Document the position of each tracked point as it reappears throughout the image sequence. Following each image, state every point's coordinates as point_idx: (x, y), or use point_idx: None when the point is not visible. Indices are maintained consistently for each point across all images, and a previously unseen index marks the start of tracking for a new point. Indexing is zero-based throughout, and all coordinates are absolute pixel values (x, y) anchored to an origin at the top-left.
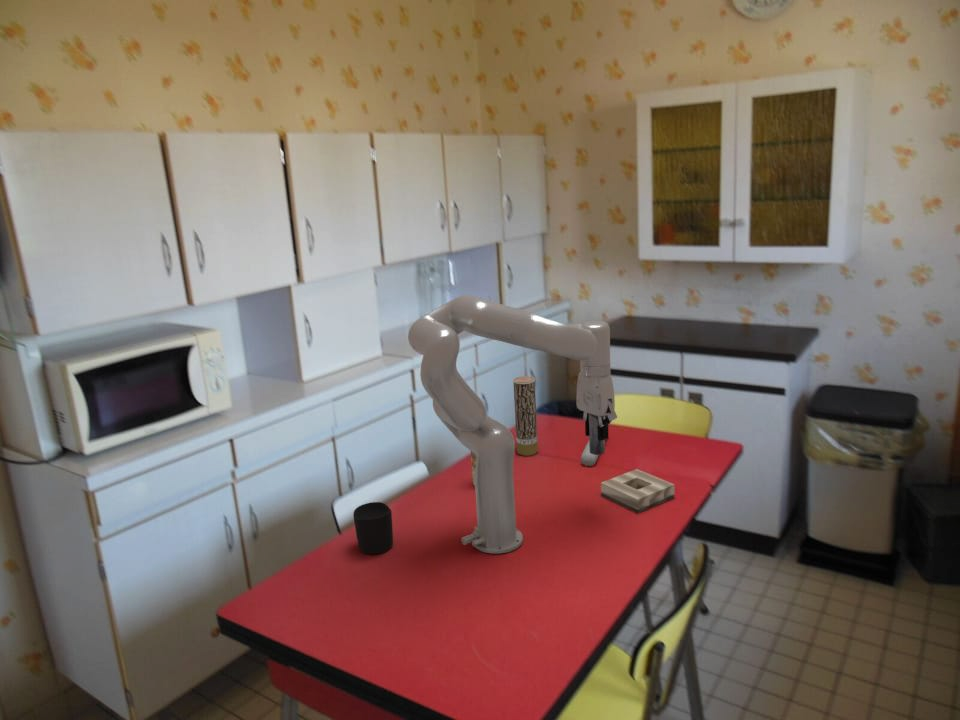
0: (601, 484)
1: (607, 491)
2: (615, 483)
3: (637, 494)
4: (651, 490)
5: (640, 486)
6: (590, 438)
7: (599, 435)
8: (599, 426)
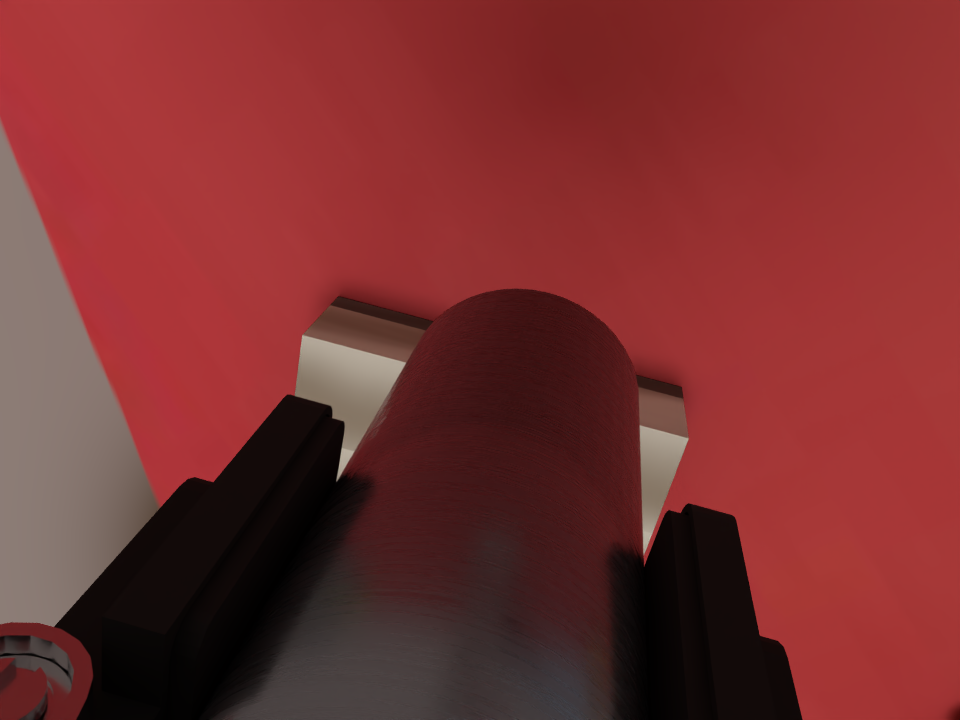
0: (682, 430)
1: None
2: None
3: (352, 401)
4: None
5: None
6: (545, 427)
7: (238, 459)
8: (109, 639)
